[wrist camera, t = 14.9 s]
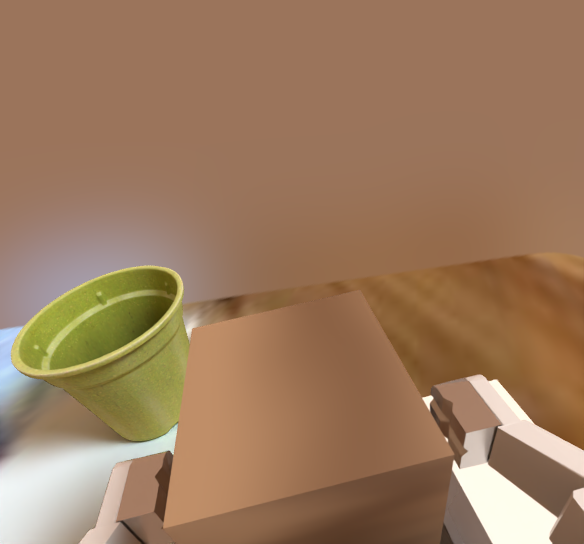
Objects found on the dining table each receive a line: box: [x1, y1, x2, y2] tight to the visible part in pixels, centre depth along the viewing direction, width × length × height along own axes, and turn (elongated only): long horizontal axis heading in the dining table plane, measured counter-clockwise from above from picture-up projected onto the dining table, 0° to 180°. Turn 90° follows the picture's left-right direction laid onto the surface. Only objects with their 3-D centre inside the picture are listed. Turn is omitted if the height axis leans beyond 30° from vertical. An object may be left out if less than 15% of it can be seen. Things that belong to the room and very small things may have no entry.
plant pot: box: [11, 266, 190, 441], centre depth 22 cm, size 9×9×9 cm
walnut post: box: [163, 290, 455, 544], centre depth 11 cm, size 5×5×12 cm
